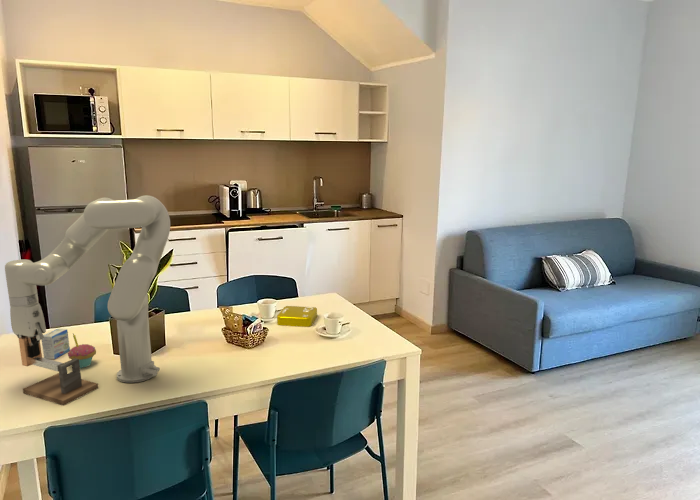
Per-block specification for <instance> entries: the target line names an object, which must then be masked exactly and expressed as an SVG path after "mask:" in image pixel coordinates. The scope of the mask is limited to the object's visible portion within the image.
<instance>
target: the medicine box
mask: <svg viewBox="0 0 700 500" xmlns="http://www.w3.org/2000/svg"><path fill="white" fill-rule="evenodd" d="M43 336H44V338H43V339H41V340H40V341H41V346H42V347H41V348H42V353H43V358H46V359H50V360H56V359H58V358H60V357H61V356H63V355H65V354H68V352H69V351H70V350H71V347H70V340H69V332H68V329H66V328H57V329H54V330H52V331H50V332H48V333H44V334H43Z"/></svg>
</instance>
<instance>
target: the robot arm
mask: <svg viewBox="0 0 700 500" xmlns="http://www.w3.org/2000/svg"><path fill="white" fill-rule="evenodd" d="M83 210H84V211H83V213H82V214H81V215H80V216H79V217H78V218H77V219H76V220H75V221H74V222H73V223H72V224H71V225H70V226H69V227H68V228H67V229H66V231H65V236H64V238H63V239H62V240H61V242H60V243H59V244H58V245H57V246H56V247H55V248H54V249H53V250H52V251H51V252H50V253H49V254H48V255H47V256H45V257H44V258H42V259H40V260H38V261H35V262H33V261H32V260H31V259H14V260H11V261H8V262H6V263H5V265H4V274H5V279H6V287H7V293H8V300H9V310H10V311H9V312H10V317H9V318H10V326H11V329H12V333H13V334H14V335H16V337H17V338H18V339H19V338H20V337H23V336H28V341H29V346H28V351H29V357H30V358H33V357H35V356H38V355H40V349H39V343H40V344H41V341H42V340H41V339H43V338H44V336H43V335H44V334H46V331H47V327H46V322H45V317H44V313H43V310H42V306H41V304H40V303H39V296H38V295H39V294H38V289H37V287H38V286H49V285H52V284H53V283H54V282H56V281H57V280H58V279H59V278H61V277H62V276H64V275H65V274H66V273H67V272H68V271H70V269H71V268H72V267H73V266H74V265H75V264H76V263H77V262H78V261H80V259H81V258H82V257H83V256H84V254H85V253H87V252H89V251H90V249H91V248H92V247H93V246H95V244H96V243H97V242H98V241H99V240H100V239H101V238H102V237H103V236H104V235H105V234H106V233H107V232H108V231H109V230H119V229H133V228H134V229H137V228H141V229H140V232H139V235H138V237H137V240H136V242H135V245H134V248H133V250H132V253H131V255H130V256H129V257H128V259H126V261H124V263H123V264H122V266H121V267H120V269H119V272H118V275H117V277H116V278H115V279H116V280H115V281H114V284H113V287H112V289H111V293H110V295H109V298H108V301H107V311H108V313H109V315H110V316H111V317H112V319H114V320H116V328H117V341H118V350H119V359H120V361H119V363H120V369H119V370H118V371H117V373H116V379H117V381H119V382H122V383H127V384H132V383H140V382H144V381H147V380H150V379H152V378H154V377H156V376H157V375H158V372H159V371H160V367H158V366H156V365H155V361H154V360H153V359H152V347H151V336H150V335H151V334H150V321H149V294H148V291H149V288H150V286H151V283H152V281H153V279H154V278H155V276H156V275H157V271H158V267H159V264H160V261H161V259H162V256H163V254H164V251H165V249H166V245H167V242H168V239H169V236H170V233H171V232H170V231H171V218H170V215H169V212H168V209H167V208H166V206H165V205H164V204H163V203H162V202H161V200H159V199H158V198H156V197H155V196H152V195H146V194H145V195H140V196H139V197H136V198H134V199H123V200H122V199H120V200H118V199H117V200H116V199H113V198H109V197H99V198H97V199H96V200H92V201H91V202H89V203H88V204H87V205H86V206H85V208H84V209H83ZM34 333H35V334H34ZM33 337H35V338H34V339H33V340H32V338H33Z"/></svg>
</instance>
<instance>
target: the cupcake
mask: <svg viewBox="0 0 700 500" xmlns="http://www.w3.org/2000/svg"><path fill="white" fill-rule="evenodd" d="M72 336H73V340H74V343H75V346H73V347H72V348H70V351H69V352H67V356H68V359H69V360H72V359H75V358H77V359H79V364H80V369H82V368H86V367H89V366H91V364H92V360H93V357H95V355H96V353H97V349H96V347H95V346H93V345H92V344H91V345H90V344H88V343H87V344H86V343H85V344H83V343H82V344H78V339H77V337H76V335H75V334H74V333H72Z"/></svg>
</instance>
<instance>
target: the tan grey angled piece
mask: <svg viewBox="0 0 700 500" xmlns="http://www.w3.org/2000/svg"><path fill="white" fill-rule="evenodd" d="M34 334H35V333H34ZM34 338H35V337H33V338H32V340H33V339H34ZM18 345H19V350H20V351H19V352H20V357H21V366H25V367H29V366H35V367H39V368H43V369H47V370H51V371H53V372H54V371H55V372H59V369H58V365H60V364H63V363H64V362H61V361H57V360H54V359H46V358H44V357H43V355H42V353H43V352H42V347H41V346H42V345H41V342H40V343H39V349H40V355H38V356H35V357H33V358H30V357H29V351H28V346H29V341H28V336H23V337H20V338H18Z"/></svg>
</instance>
